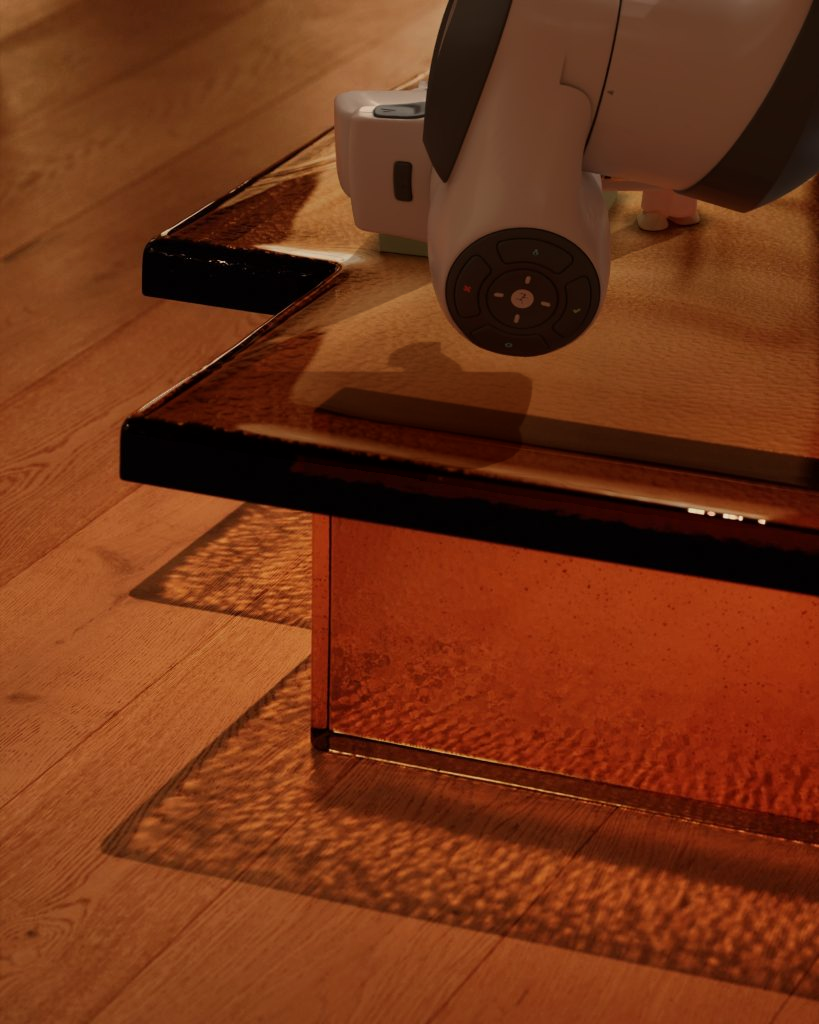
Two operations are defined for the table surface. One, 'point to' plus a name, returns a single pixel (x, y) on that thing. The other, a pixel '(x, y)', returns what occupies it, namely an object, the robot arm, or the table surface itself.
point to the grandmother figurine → (666, 209)
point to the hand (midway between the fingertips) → (508, 93)
